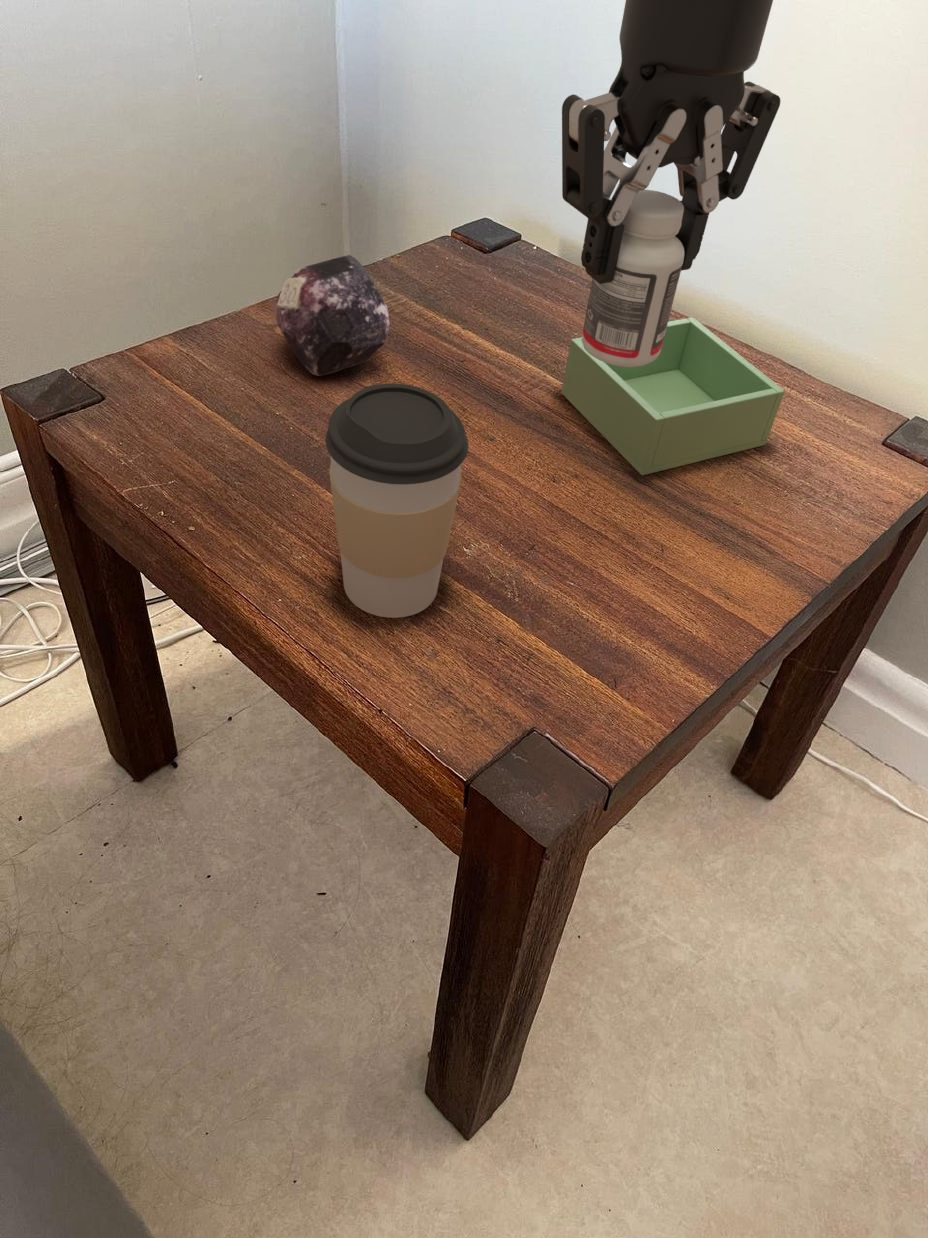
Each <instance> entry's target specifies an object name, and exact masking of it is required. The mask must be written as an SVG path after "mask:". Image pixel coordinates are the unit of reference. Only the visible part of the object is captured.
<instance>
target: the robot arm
mask: <svg viewBox="0 0 928 1238" xmlns="http://www.w3.org/2000/svg"><path fill="white" fill-rule="evenodd" d="M624 3H625V4H624V8H623V14H622V20H621V27H620V31H619V45H620V55H621V61H620V67H619V70H618V71H617V75H616V76H615V77H614V80H613V81H612V82H611V85H610V87H609V89H608V92H607V93H604V94H601V95H598V96H594V97H591V98H588V99H583V98H582V97H580V96H579V95H577V94H570V95H568V96H567V97H566V98H565V99H564V101H563V103H562V106H561V175H562V177H561V192H562V193H561V196H562V199H563V200H564V201H565V202H566V203H567V204H568V205H570V206H571V207H573V208H574V209H575V210H576V211H578V213H580V214H582V215H583V216H585V217H586V218H587V223H586V228H585V232H584V233H585V234H584V238H583V239H584V240H583V244H582V245H583V246H582V249H581V250H582V251H581V256H580V261H581V266H582V267H583V268H584V269H585V272H586V274H587V275H588V276H589V277H590V278H592V279H594V280H596V281H597V282H598V283H599V284H604V283H609V282H612V281H613V279H614V275H615V270H616V265H617V260H618V255H619V251H620V246H621V241H622V236H623V231H624V225H623V224H622V223H621V222H622V221H623V220H624V218H625V216H626V214H627V212H628V210H629V209H630V207H631V205H632V203H633V201H634V199H635V197H636V195H637V193H638V192H639V191H641V190H647V188H648V187H649V185H650V183H652V182H651V181H652V180H653V178H654V176H655V174H656V173H657V170H658V169H660V168H664V167H666V166H668V165H671V164H674V165H675V167H676V170H677V180H678V191H679V195H680V197H681V200H679V201H680V202H681V203H682V204H683V206H684V212H683V217H682V222H681V228H680V229H679V232H678V234H677V235H675V236H676V237H677V238H678V239H679V240H680V241H681V243H682V245H683V247H684V261H683V265H682V269H681V272H682V271H688V270H690V269H691V268H692V266H693V262H694V260H696V258H697V256H698V254H699V253H700V250H701V246H702V242H703V239H704V234H705V231H706V227H707V223H708V220H709V216H710V213H712V212H713V211H715V209H717V207H718V205H719V202H722V201H723V200H725V199H727V198H729V199H730V200H737V199H738V198H740V197H741V196H742V194H743V193H744V191H745V189H746V186H747V183H748V182H749V180H750V177H751V175H752V172H753V170H754V168H755V165H756V163H757V160H758V159H759V155H760V154H761V151H762V148H763V146H764V144H765V142H766V139H767V137H768V135H769V132H770V131H771V128H772V125H773V123H774V121H775V118H776V116H777V113H778V111H779V109H780V106H781V97H780V96H779V95H777V94H776V93H775V92H772V91H771V90H770V89H767V88H765V87H763V86H761V85H760V84H755V83H754V82H752V81H745V72H746V71H748V70H750V69H751V68H752V67H753V66H754V65H755V64H756V62H757V61H758V58H759V54H760V50H761V46H762V43H763V40H764V36H765V32H766V28H767V25H768V21H769V18H770V17H769V16H770V13H771V10H772V7H773V3H774V0H625V2H624ZM612 122H614V124H615V128H614V130H613V132H612V133H611V132H610V126H611V124H612ZM605 142H607V144H606V146H605ZM735 153H736V159H735V161H734V163H733V165H732V169H731V171H728V169H729V167H730V165H731V163H732V159H733V157H734V156H735ZM627 154H628V155H629V156H630V157H632V158H634V159H635V160H636V162H635V163H634V164H633V165H630V164H628V163H627V160H626V156H627ZM618 182H619V183H618ZM617 184H618V185H617ZM616 186H617V187H616ZM615 188H616V189H615ZM614 190H615V191H614ZM613 192H614V193H613ZM612 194H613V195H612ZM611 196H612V197H611Z"/></svg>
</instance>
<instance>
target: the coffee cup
mask: <svg viewBox="0 0 928 1238" xmlns="http://www.w3.org/2000/svg"><path fill="white" fill-rule="evenodd" d="M467 436H468V435H467V432H466V427H465V425H464V424H463V422H462V420H461V419H460V417H459V416H458V415H457V414H456V413H455V412H454V411H453V410H452V409H451V408H450V407H449V406H448V404H447V403H446V402H445V400H443V399H442V398H440V396H438V395H437V394H435V393H433V392H431V391H429V390H427V389H424V388H421V387H418V386H415V385H410V384H405V383H404V384H403V383H380V384H375V385H371V386H367V387H365V388H362V389H360V390H359V391H357V392H355V393H354V394H353V395H352V396H350V397H349V398H347V399H346V400H344V401H342V402H341V403H340V404H338V405H337V407H336V408H335V409H334V410H333V411H332V412H331V414H330V416H329V419H328V427H327V430H326V433H325V439H324V440H325V446H326V450H327V452H328V454H329V458H330V467H329V481H330V482H329V483H330V489H331V498H332V506H333V507H332V508H333V516H334V524H335V532H336V540H337V546H338V549H339V552H340V561H341V563H340V564H341V571H342V573H341V574H342V579H343V589H344V592H345V594H346V596H347V598H348V599H349V600H350V602H351V603H352V604H353V605H354V606H356V607H357V608H359V609H360V610H361V611H364V612H365V613H368V614H370V615H373V616H377V617H381V618H392V619H397V618H405V617H410V616H413V615H416V614H419V613H421V612H422V611H424V610H425V609H427V608H428V607H429V606H430V605H431V604H432V603H433V602H434V601H435V598H436V596H437V594H438V588H439V585H440V578H441V574H442V568H443V563H444V559H445V556H446V555H447V552H448V548H449V543H450V537H451V532H452V527H453V523H454V517H455V513H456V508H457V503H458V498H459V493H460V489H461V484H462V472H461V470H462V465H463V463H464V461H465V460H466V458H467V455H468V451H469V439H468V437H467Z"/></svg>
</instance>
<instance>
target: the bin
mask: <svg viewBox="0 0 928 1238" xmlns="http://www.w3.org/2000/svg"><path fill="white" fill-rule="evenodd" d="M785 392H786V391H785V390H784V389H783V388H782V387H780V385H778V384H777V383H776V382H775V381H773V380H772V379H771V378H769V377H768V376H767V375H766V374H764V373H763V372H762V371H761V370H759V369H758V368H757V367H755V366H754V365H753V364H752V363H751V362H749V361H748V360H747V359H746V358H744V357H743V356H742V355H741V354H739V353H738V352H737V351H735V350H734V349H733V348H732V347H731V346H729V345H728V344H726V342H724V341H723V340H722V339H720V338H719V337H718V336H717V335H715V334H714V333H713V332H711V330H709V329H708V328H707V327H705V325H703V324H702V323H700V322H699V321H698V320H697V319H696V318H694V317H693V316H692V317H687V318H681V319H675V320H671V321H668V324H667V328H666V333H665V336H664V340H663V344H662V348H661V351H660V354H659V356H658V357H657V358H656V359H655V360H654V361H653V362H651V363H648V364H646V365H643V366H637V367H622V366H616V365H612V364H609V363H605V362H603V361H601V360H599V359H597V358H595V357H593V356H592V355H590V354H589V353H588V352H587V351H586V350H585V348H584V346H583V343H582V336H581V337H576V338H571V339H570V343H569V349H568V355H567V359H566V365H565V371H564V376H563V381H562V388H561V392H560V393H561V394H562V396H563V397H564V398H565V399H566V400H568V402H569V403H570V404H571V405H572V406H573V407H574V408H575V409H576V410H577V411H578V412H579V413H580V414H581V415H582V416H583V417H584V418H585V419H586V420H587V421H588V423H589V424H591V425H592V426H593V427H594V428H595V429H596V430H597V432H599V434H601V436H602V437H604V439H605V440H606V441H607V442H608V443H609V444H610V445H611V446H612V447H613V448H614V449H615V450H616V451H617V452H618V453H619V454H620V455H621V456H622V457H623V458H624V459H625V460H626V461H627V462H628V463H629V464H630V465H631V466H632V468H634V469H635V470H636V471H637V473H638V474H639V475H640V476H646V475H650V474H654V473H657V472H658V473H659V472H661V471H665V470H666V471H667V470H671V469H675V468H677V467H678V468H679V467H682V466H687V465H691V464H694V463H698V462H702V461H706V460H710V459H715V458H718V457H723V456H726V455H730V454H734V453H738V452H742V451H747V450H751V449H754V448H758V447H762V446H763V447H764V446H766V445H767V442H768V439H769V436H770V433H771V431H772V428H773V425H774V422H775V420H776V417H777V414H778V412H779V409H780V406H781V404H782V401H783V398H784V395H785Z"/></svg>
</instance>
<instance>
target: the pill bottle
mask: <svg viewBox="0 0 928 1238" xmlns="http://www.w3.org/2000/svg"><path fill="white" fill-rule="evenodd" d="M680 201H681V200H679V199H678V198H677V197H675V196H673V195H671V194H668V193H665V192H662V191H660V190H659V191H658V190H652V189H644V190H641V191H639V192H638V193H637V195H636V197H635V199H634V201H633V203H632V205H631V207H630V209H629V210H628V212H627V214H626V216H625V218H624V220H623V221H622V222H621V223H622V224H623V225H624V231H623V236H622V241H621V246H620V251H619V255H618V260H617V265H616V270H615V275H614V279H613V281H612V282H609V283H604V284H599V283H598V282H597V281H596V280H594V279H593V278H592V279H591V284H590V290H589V295H588V300H587V305H586V310H585V311H586V312H585V317H584V323H583V330H582V335H581V337H582V343H583V346H584V348H585V350H586V351H587V352H588V353H589V354H590V355H592V356H593V357H595V358H597V359H599V360H601V361H603V362H605V363H609V364H612V365H616V366H622V367H637V366H643V365H646V364H648V363H651V362H653V361H654V360H655V359H656V358H657V357H658V356H659V354H660V351H661V348H662V344H663V340H664V336H665V333H666V328H667V324H668V322H669V320H670V316H671V312H672V308H673V304H674V299H675V296H676V292H677V288H678V284H679V281H680V277H681V272H682V271H681V269H682V265H683V261H684V247H683V245H682V243H681V241H680V240H679V239H678V238H677V237H676V236H675V235H677V234H678V232H679V229H680V228H681V222H682V217H683V212H684V206H683V204H682V203H681V202H680Z"/></svg>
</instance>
